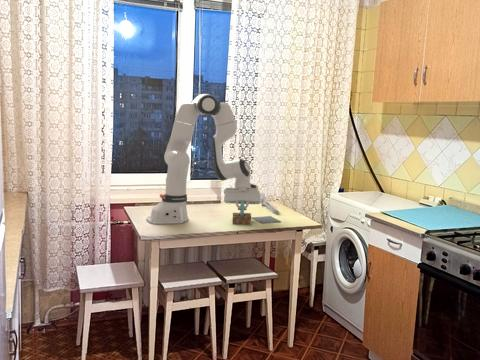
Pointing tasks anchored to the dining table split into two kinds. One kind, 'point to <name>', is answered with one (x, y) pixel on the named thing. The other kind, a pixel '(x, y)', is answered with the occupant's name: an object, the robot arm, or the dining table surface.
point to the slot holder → (242, 218)
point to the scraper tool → (242, 208)
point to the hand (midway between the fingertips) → (242, 209)
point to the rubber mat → (265, 219)
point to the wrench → (268, 204)
